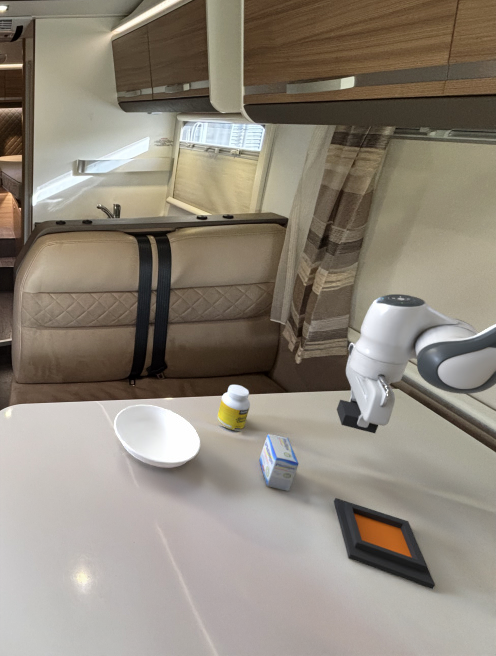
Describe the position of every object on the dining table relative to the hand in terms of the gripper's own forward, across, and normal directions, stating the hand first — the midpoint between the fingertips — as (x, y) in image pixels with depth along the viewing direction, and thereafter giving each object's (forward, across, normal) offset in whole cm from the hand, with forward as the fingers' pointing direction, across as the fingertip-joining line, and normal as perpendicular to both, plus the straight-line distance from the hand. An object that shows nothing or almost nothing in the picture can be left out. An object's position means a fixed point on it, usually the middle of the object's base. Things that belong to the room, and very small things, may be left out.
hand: (357, 414), depth 98 cm
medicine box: (+14, -13, +15) cm, 24 cm away
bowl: (+13, -18, +40) cm, 46 cm away
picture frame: (+14, -22, -2) cm, 26 cm away
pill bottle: (+14, +1, +24) cm, 27 cm away
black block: (+2, 0, 0) cm, 2 cm away
